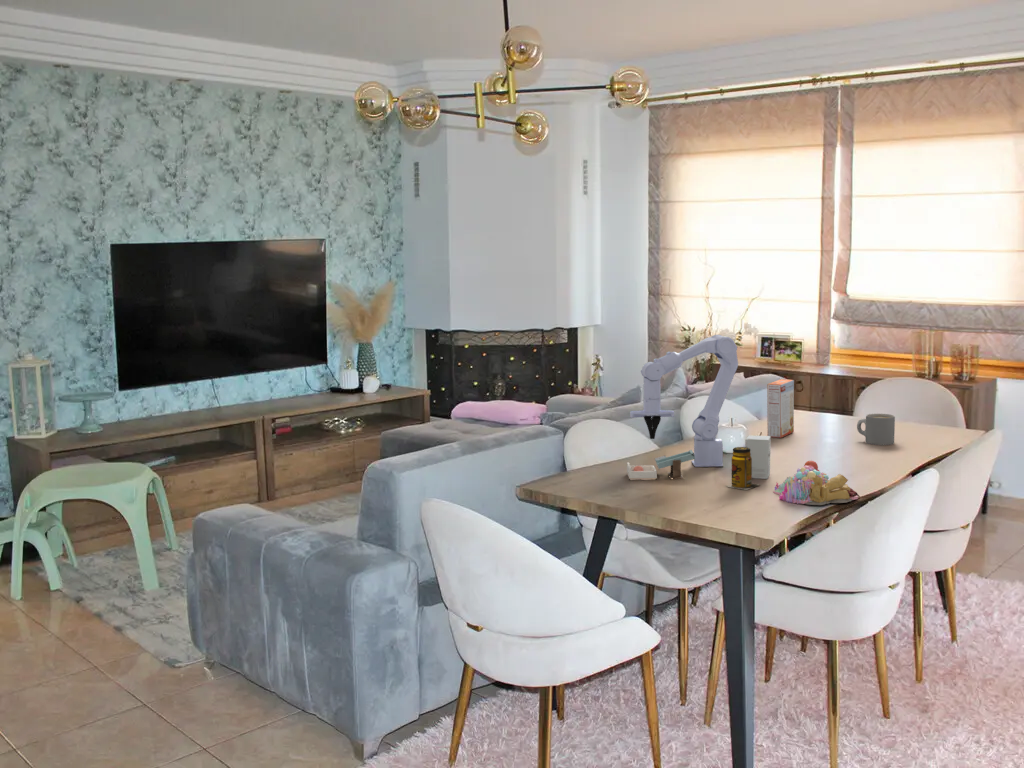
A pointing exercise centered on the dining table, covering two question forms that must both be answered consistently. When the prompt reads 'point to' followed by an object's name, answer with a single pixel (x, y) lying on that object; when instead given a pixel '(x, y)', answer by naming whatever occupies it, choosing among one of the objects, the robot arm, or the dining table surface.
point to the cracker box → (780, 408)
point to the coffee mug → (878, 429)
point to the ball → (638, 468)
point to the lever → (668, 461)
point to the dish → (641, 472)
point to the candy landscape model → (815, 487)
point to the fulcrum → (676, 470)
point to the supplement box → (759, 455)
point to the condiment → (742, 469)
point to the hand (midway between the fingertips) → (652, 438)
